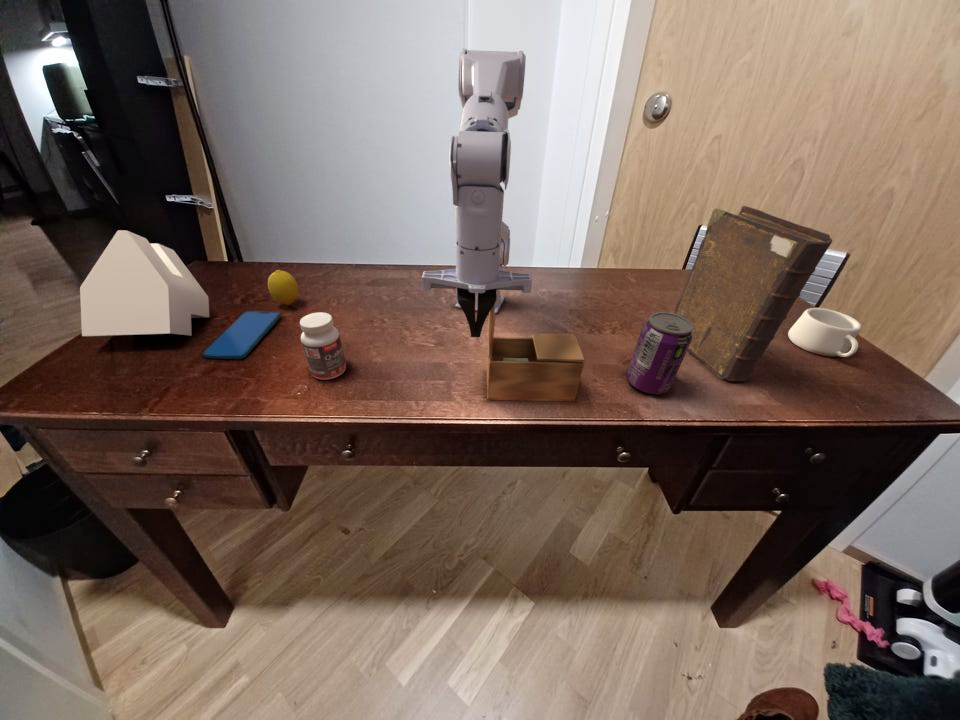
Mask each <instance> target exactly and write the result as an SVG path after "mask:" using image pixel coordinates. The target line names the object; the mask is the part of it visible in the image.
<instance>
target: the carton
mask: <svg viewBox="0 0 960 720" xmlns="http://www.w3.org/2000/svg"><path fill="white" fill-rule="evenodd" d="M503 358H528V362H523V361H503ZM584 363H585V357H584V354H583V352H582V350H581V347H580V344H579V342H578V340H577V337H576V336H575V334H567V333H566V334H562V333H561V334H560V333H532V335H531V337H514V336H513V337H512V336H511V337H510V336H493V345H492V355H491V358H488V353H487V356H486V396H487V401H523V402H524V401H527V402H530V401H532V402H533V401H534V402H575V401H576V398H577V393H578V390H579V385H580V381H581V378H582V374H583V370H584V366H585V364H584Z"/></svg>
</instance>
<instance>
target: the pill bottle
mask: <svg viewBox="0 0 960 720" xmlns="http://www.w3.org/2000/svg"><path fill="white" fill-rule="evenodd" d="M299 325H300V329H301V332H302V333H301V334H300V342H301V345H302V348H303V352H304V355H305V358H306V361H307V362H306V363H307V365H308V368H309V371H310V374H311V376H312V377H314V379H317V380H321V381H326V380H327V381H328V380H334V379H335V378H338V377H340V376H341V375H343V374H344V373H345V371H346V369H347V362H346V358H345V352H344V349H343V344H342V341H341V336H340V332H339V330H338V328H336V326H334V325H335V324H334V320H333V316H332V315H331V314H330V313H327V312H322V311H321V312H320V311H319V312H312V313H309V314H307V315H305V316H303V317H301V318H300V320H299Z"/></svg>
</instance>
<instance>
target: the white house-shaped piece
mask: <svg viewBox="0 0 960 720" xmlns="http://www.w3.org/2000/svg"><path fill="white" fill-rule="evenodd" d="M79 297H80V299H79V300H80V301H79V302H80V322H81V323H80V324H81V337H87V338H88V337H89V338H101V339H112V336H133V335H164V334H165V335H166V334H172V335H180V336H181V335H184V336H190V337H192V336H193V333H192V319H196V318H197V319H198V318H199V319H200V318H210V301H209V296H208V294H207V293H206V292H205V290H204V288H202V286H201V285H200V283H199V282H198V281H197V279H196V278H195V277H194V275H193V274H192V273H191V271H190V270H189V269H188V268H187V266H186V265H185V263H184V262H183V261H182V259H181V258H180V256H179V255H178V254H177V253H176V251H175V249H172V248H170V247H167V246H165V245H163V244H161V243H158V242H157V243H156V242H155V243H151V242H149V240H148V239H147V238H146V237H143V236H141V235H139V234H136V233H135V232H131V231H129V230H125V229H124V230H122V229H120V230H119V229H118V230H117V231H116V232H115V234H114V235H113V237H112V238H111V240H110V241H109V243H108V244H107V246H106V247H105V249H104V250H103V252H102V253H101V255H100V256H99V258H98V259H97V261H96V262H95V264H94V265H93V267H92V268H91V270H90V272H89V273H88V274H87V276H86V278H85V279H84V281H83V282H82V283H81V285H80V286H79Z"/></svg>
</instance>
